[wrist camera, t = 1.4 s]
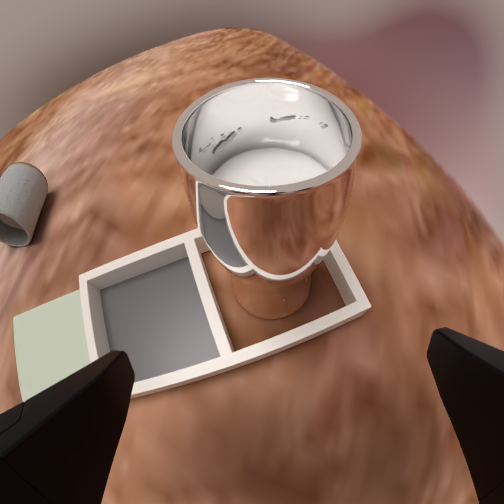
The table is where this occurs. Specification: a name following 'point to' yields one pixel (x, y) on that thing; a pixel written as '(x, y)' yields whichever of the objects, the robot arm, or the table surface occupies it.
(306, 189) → the shiny metal tumbler
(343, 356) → the table surface
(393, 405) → the table surface
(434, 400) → the table surface
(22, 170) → the ceramic mug
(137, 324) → the white divided tray
